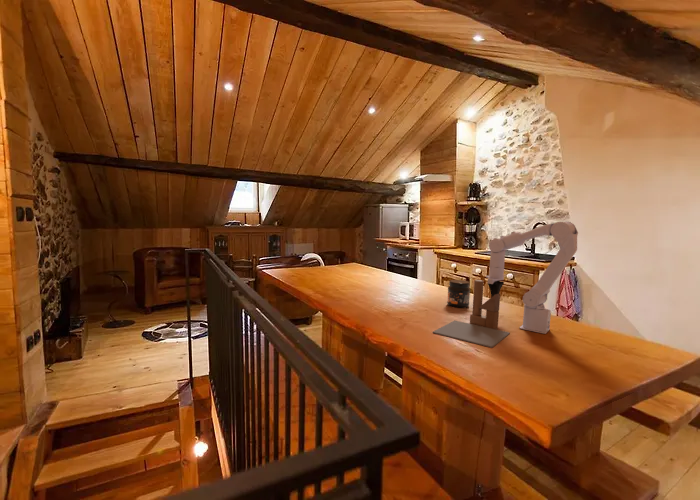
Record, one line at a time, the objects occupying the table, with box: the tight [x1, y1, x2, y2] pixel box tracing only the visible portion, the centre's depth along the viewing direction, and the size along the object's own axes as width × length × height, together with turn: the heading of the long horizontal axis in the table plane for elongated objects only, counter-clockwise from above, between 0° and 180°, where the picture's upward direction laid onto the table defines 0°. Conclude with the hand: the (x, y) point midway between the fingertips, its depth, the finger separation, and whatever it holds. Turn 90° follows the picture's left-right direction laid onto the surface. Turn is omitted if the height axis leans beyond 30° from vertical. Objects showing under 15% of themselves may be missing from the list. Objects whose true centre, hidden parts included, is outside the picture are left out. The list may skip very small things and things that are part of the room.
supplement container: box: [446, 279, 471, 309], centre depth 181 cm, size 10×10×12 cm
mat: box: [432, 320, 511, 349], centre depth 139 cm, size 22×20×1 cm
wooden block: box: [469, 279, 501, 330], centre depth 149 cm, size 4×11×18 cm, turn 37°
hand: (494, 298), depth 157 cm, fingers closed
